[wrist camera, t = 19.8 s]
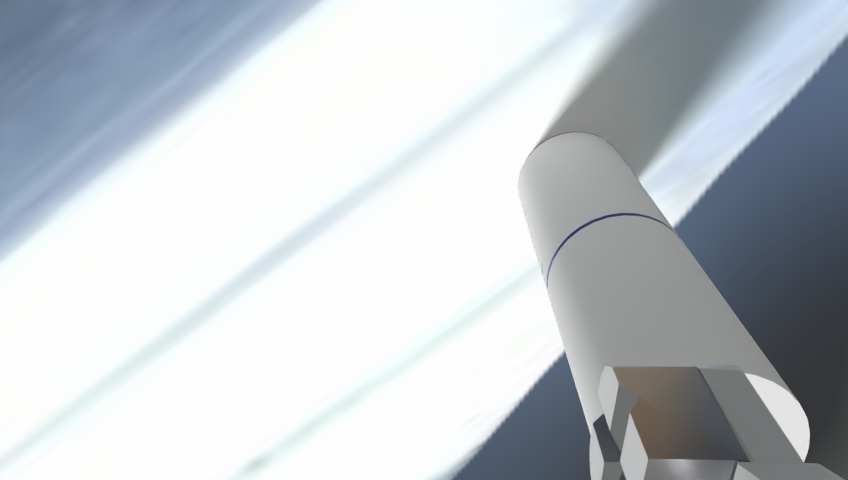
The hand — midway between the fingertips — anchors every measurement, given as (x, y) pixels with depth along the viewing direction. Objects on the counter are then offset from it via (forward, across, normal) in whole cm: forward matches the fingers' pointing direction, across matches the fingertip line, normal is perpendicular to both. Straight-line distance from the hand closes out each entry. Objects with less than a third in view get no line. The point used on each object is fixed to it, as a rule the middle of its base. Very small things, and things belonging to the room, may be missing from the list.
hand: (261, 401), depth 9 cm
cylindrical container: (+37, -12, +12) cm, 41 cm away
